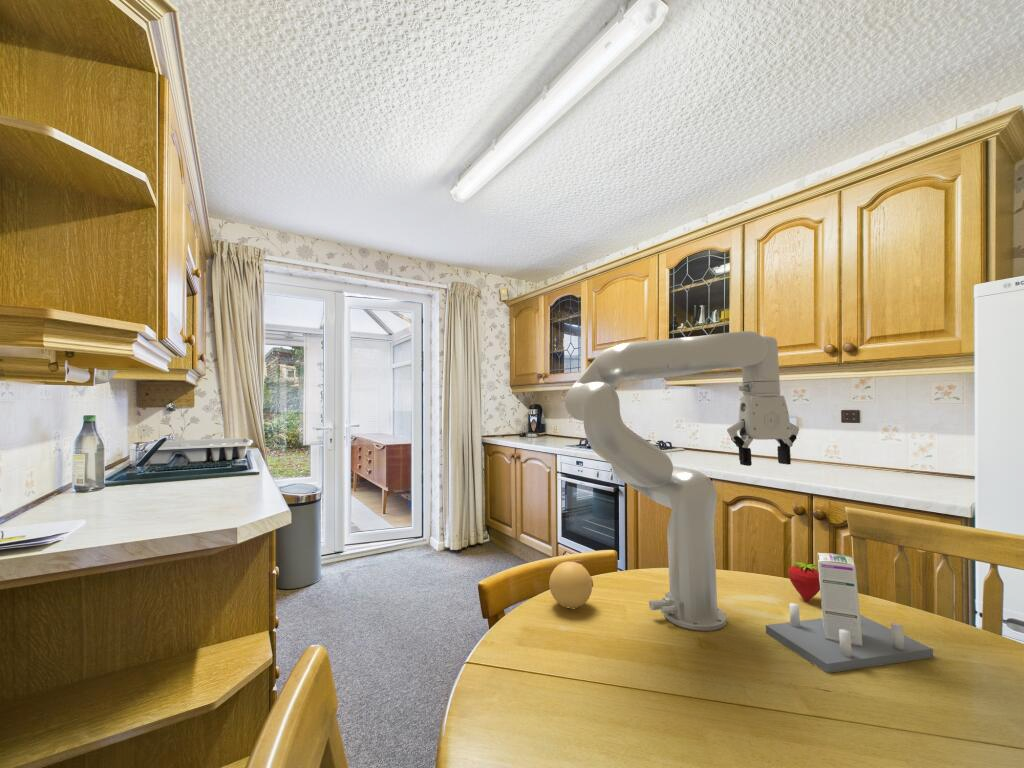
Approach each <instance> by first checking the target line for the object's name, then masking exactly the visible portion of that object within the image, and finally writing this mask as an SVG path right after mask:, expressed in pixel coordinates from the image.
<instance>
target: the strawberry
mask: <svg viewBox="0 0 1024 768" xmlns="http://www.w3.org/2000/svg"><path fill="white" fill-rule="evenodd" d="M808 558H809V557H808V556H806V560H805V563H804V562H799V561H798V562H797V561H793V563H794V564H793V565H792V566H790V567H789V568H788V573H787V575H788V577H789V580H790V582H791V584H792V586H793V587H794V588H795V590H796V592H797V594H799V595H800V596H801V598H802V600H804V601H806V602H808V601H811V600H812V599H813V598H814V597H815V596H817V594H818V593H820V581H819V569H818V564H813V563H812V564H810V563H809V564H807V561H808Z"/></svg>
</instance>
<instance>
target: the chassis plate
mask: <svg viewBox="0 0 1024 768" xmlns="http://www.w3.org/2000/svg"><path fill="white" fill-rule="evenodd" d="M789 619H790V621H788V622H780V623H772V624H771V623H770V624H765V633H766V634H767V635H769V637H772V638H773V639H775V640H776V641H778V642H779V643H781V644H782V645H784V646H785V647H787V648H789V649H790V650H792V651H793V652H795V653H796V654H798V655H799V656H801V657H802V658H804V659H805V660H807V661H808V662H810V663H811V664H813V665H814V666H816V667H817V668H819V669H820V670H822V671H824V672H825V673H827V674H830V673H835V672H837V673H838V672H842V671H849V670H856V669H857V670H858V669H864V668H871V667H876V666H883V665H891V664H898V663H905V662H911V661H912V662H913V661H918V660H926V659H932V658H934V648H932V647H930V646H928V645H926V644H925V643H922V642H919V641H918V640H916V639H913V638H910V637H908V636H907V635H905V634H904V627H903V625H902V624H901V623H898V622H891V623H890V628H889V627H888V626H885V625H883V624H881V623H879V622H877V621H875V620H872V619H870V618H868V617H866V616H864V615H862V614H860V619H861V631H862V646H859V645H853V644H851V635H850V632H849V631H847V630H844V629H840V630H839V638H840V642H838V641H834V640H830V639H826V638H825V633H824V627H823V617H820V618H815V619H813V618H812V619H806V620H805V619H804V620H801V615H800V606H799V604H797V603H794V602H791V603H789Z"/></svg>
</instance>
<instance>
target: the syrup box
mask: <svg viewBox="0 0 1024 768" xmlns="http://www.w3.org/2000/svg"><path fill="white" fill-rule="evenodd" d="M817 565H818V566H817V569H819V570H818V572H819V581H820V591H819V593H820V602H821V615H822V616H821V618H823V627H824V633H825V638H826V639H830V640H834V641H838V642H840V638H839V630H840V629H844V630H847V631H849V632H850V635H851V644H853V645H859V646H862V631H861V619H860V615H861V610H860V601H859V600H860V599H859V591H858V580H857V569H856V565H855V562H854V560H853V557H852V556H850V555H847V554H841V553H840V554H838V553H831V552H830V553H829V552H828V553H827V552H817Z"/></svg>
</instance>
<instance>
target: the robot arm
mask: <svg viewBox="0 0 1024 768" xmlns="http://www.w3.org/2000/svg"><path fill="white" fill-rule="evenodd" d="M778 345H779V344H778V341H777V339H776V338H775V337H772V336H762V335H761V334H759V333H758V332H755V331H752V330H744V331H732V332H721V333H713V334H706V335H698V336H697V335H695V336H683V337H675V338H666V339H655V340H643V341H642V340H641V341H632V342H624V343H620V344H617V345H614V346H611V347H609V348H608V347H607V348H606V349H604V350H602V351H601V352H600V353H598V355H597V356H596V357H595V358H594V359H593V360H592V361H591V363H590V364H589V365H588V367H587V368H585V370H584V372H582V374H581V375H580V376H579V377H578V378H577V380H576V381H575V382H574V383H573V384H572V385H571V387H570V388H569V390H568V391H567V393H566V395H565V399H564V404H565V406H564V407H565V410H566V412H567V414H569V416H570V417H572V418H573V419H574V420H577V421H580V422H583V430H584V433H585V436H586V441H587V442H588V444H589V446H590V448H591V449H592V450H593V452H594V453H595V454H596V455H598V456H599V457H600V458H602V459H603V460H605V461H606V462H608V463H609V464H610V465H611V468H612V470H613V473H614V474H615V475H616V476H617V478H618V479H619V480H620V481H622V482H624V483H625V484H627V485H628V486H630V487H631V488H632V489H634V490H636V491H637V492H639V493H641V494H642V495H644V496H646V497H647V498H648V499H650V500H651V501H653V502H655V503H657V504H660V505H661V506H664V507H667V508H669V509H671V511H670V512H671V513H670V516H669V519H668V523H667V532H666V534H667V535H666V536H667V537H666V539H667V540H666V541H667V557H668V558H667V559H668V577H669V578H668V579H669V582H668V583H669V592H665V595H664V596H665V597H662V599H653V600H652V599H651V600H649V602H648V607H649V609H650V610H651V611H660V612H661V613H662V614H663V616H664V617H665V619H666V618H667V619H666V620H667V621H669V622H670V623H671V624H673V625H676V626H679V627H681V628H684V629H687V630H693V631H703V632H707V631H710V632H711V631H716V630H720V629H723V628H724V627H725V626H726V624H727V615H726V613H725V612H724V611H723V610H722V609H720V608H719V607H718V590H717V589H718V587H717V571H716V569H717V568H716V567H717V566H716V548H715V547H716V546H715V515H716V509H717V508H716V507H717V503H718V502H717V501H718V494H717V489H716V486H715V484H714V482H713V481H712V480H711V478H710V477H708V476H707V475H706V474H704V473H702V472H700V471H697V470H694V469H690V468H685V467H679V466H674V465H673V462H672V459H671V458H670V456H668V454H667V453H666V452H665V450H662V449H661V448H659V447H658V446H656V445H654V444H653V443H651V442H650V441H648V440H646V439H645V438H644V437H642V436H641V435H639V434H638V433H636V432H634V431H633V430H631V429H630V428H629V427H628V426H627V425H626V424H625V423H624V421H623V418H622V416H621V406H620V405H621V403H620V398H619V397H620V396H619V395H618V393H617V391H616V388H617V387H618V385H619V384H620V383H625V382H636V381H637V382H638V381H644V380H653V379H665V378H674V377H676V378H677V377H683V376H690V375H695V374H698V373H703V372H706V371H707V372H708V371H713V370H721V371H722V370H731V369H737V368H739V369H741V375H742V376H741V377H742V383H741V385H739V386H738V391H739V392H742V395H743V396H741V397H740V400H739V409H738V422H736V423H735V424H733V425H731V426H729V427H728V428H727V429H726V431H727V433H728V436H729V437H730V439H731V441H732V442H733V443H734V444H735V446H736V447H737V448H738V460H739V464H740V465H741V466H746V467H747V466H748V467H751V466H752V450H751V448H750V447H749V446H750V444H751V443H752V442H753V440H761V441H762V440H763V441H764V440H765V441H767V440H774V441H776V442H777V444H779V445H778V446H777V447H776V448H777V462H778V464H782V465H791V464H792V462H791V461H792V459H791V447H793V445H794V443H795V441H796V440H797V436H798V434H799V431H800V427H799V426H797V425H795V424H793V423H791V422H790V421H791V420H790V413H789V410H788V404H787V401H786V398H785V396H784V395H781V383H780V382H781V381H780V369H779V368H780V367H779V365H780V364H779V350H778ZM738 433H739V435H738Z"/></svg>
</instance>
